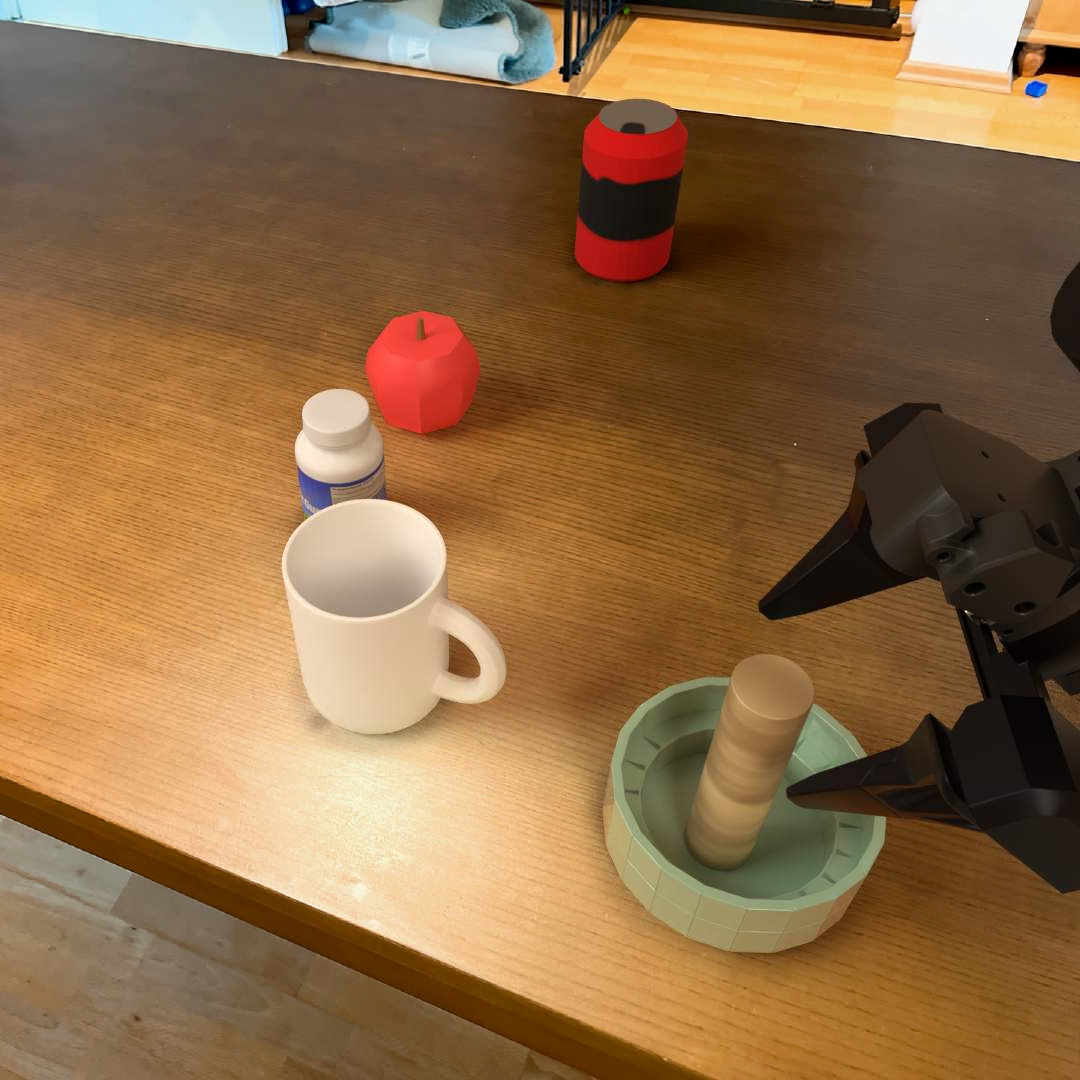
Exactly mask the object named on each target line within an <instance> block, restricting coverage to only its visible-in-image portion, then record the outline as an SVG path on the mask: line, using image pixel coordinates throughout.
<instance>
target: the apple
mask: <svg viewBox="0 0 1080 1080" xmlns="http://www.w3.org/2000/svg"><path fill="white" fill-rule="evenodd" d="M481 370H482V368H481V364H480V361H479V357H478V352H477V349H476V348H475V346H474V345H473V344H472V342H471V341H470V338H468V336H467V335H466V333H465V331H464V330H463V329H462V327H461V326H460V325H459V324H458V322H457V321H456V320H454V318H453V317H450V316H446V315H442V314H437V313H433V312H429V311H425V310H421V311H418V312H413V313H409V314H405V315H401V316H397V317H393V318H392V319H391V320H390V321H389V323H388V324H387V325H386V327H385V328H384V329H383V330H382V332H381V333H380V334H379V335H378V337H377V338H376V340H375V341H374V342H373V343H372V345H371V346H370V347H369V349H368V350H367V353H366V359H365V366H364V371H365V375H366V378H367V381H368V383H369V386H370V390H371V393H372V396H373V399H374V402H375V404H376V406H377V407H378V409H379V411H380V413H381V415H382V417H383V419H384V421H385V423H386V424H387V425H388V426H393V427H396V428H399V429H403V430H405V431H409V432H414V433H417V434H420V435H424V434H427V433H431V432H435V431H439V430H442V429H445V428H449V427H452V426H456V425H458V423H459V422H460V421H461V419H462V418H463V416H464V415H465V414H466V412H467V410H468V409H469V407H470V406H471V404H472V403H473V400H474V397H475V393H476V389H477V385H478V381H479V378H480V373H481Z"/></svg>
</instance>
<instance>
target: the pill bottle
mask: <svg viewBox="0 0 1080 1080" xmlns="http://www.w3.org/2000/svg"><path fill="white" fill-rule="evenodd" d="M370 408H371V407H370V404H369V402H368V400H367V399H366V398H365V397H364V396H363V395H362V394H360V393H359V392H357V391H354V390H351V389H345V388H330V389H327V390H324V391H320V392H318V393H316V394H314V395H313V396H311V397H309V399H307V401H306V402H305V403H304V405H303V407H302V411H301V417H302V429H301V430H300V432H299V433H298V435H297V437H296V439H295V444H294V456H295V465H296V472H297V478H298V479H297V480H298V485H299V492H300V499H301V500H300V501H301V506H302V513H303V519H304V521H305V520H307V519H308V518H309V517H310V516H312V515H314V514H315V513H317V512H319V511H321V510H323V509H325V508H327V507H329V506H332V505H335V504H338V503H342V502H345V501H351V500H358V499H380V500H387V498H388V497H387V485H386V483H387V482H386V467H385V465H386V463H385V449H384V448H385V446H384V439H383V436H382V434H381V432H380V430H379V428H378V427H377V426H376V425H375V424H374V423H373V422H372V416H371V409H370Z"/></svg>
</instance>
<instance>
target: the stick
mask: <svg viewBox="0 0 1080 1080" xmlns="http://www.w3.org/2000/svg"><path fill="white" fill-rule="evenodd" d="M730 677H731V679H730V682H729V685H728V689H727V692H726V695H725V699H724V702H723V705H722V708H721V712H720V715H719V718H718V722H717V725H716V728H715V732H714V735H713V738H712V741H711V745H710V748H709V751H708V755H707V758H706V761H705V764H704V768H703V771H702V774H701V778H700V781H699V784H698V788H697V791H696V794H695V797H694V801H693V804H692V807H691V811H690V814H689V817H688V820H687V824H686V827H685V831H684V839H685V843H686V846H687V848H688V850H689V852H690V853H691V855H692V856H693V857H694V858H695V859H696V860H697V861H698V862H699V863H701V864H702V865H704V866H706V867H708V868H710V869H713V870H718V871H731V870H735V869H737V868H740V867H741V866H743V865H744V864H745V863H746V862H747V861H748V860H749V858H750V856H751V854H752V851H753V849H754V846H755V844H756V841H757V839H758V837H759V834H760V832H761V829H762V827H763V824H764V822H765V820H766V817H767V815H768V812H769V810H770V807H771V805H772V803H773V800H774V798H775V795H776V793H777V790H778V788H779V786H780V783H781V781H782V778H783V776H784V773H785V771H786V769H787V766H788V764H789V761H790V759H791V756H792V754H793V752H794V749H795V747H796V744H797V742H798V739H799V737H800V735H801V732H802V730H803V727H804V725H805V722H806V720H807V718H808V715H809V713H810V710H811V708H812V705H813V703H814V702H815V699H816V688H815V685H814V682H813V680H812V678H811V676H810V675H809V674H808V673H807V671H806V670H805V669H804V668H803V667H802V666H800V665H799V664H798V663H797V662H795V661H793V660H791V659H790V658H787V657H784V656H783V655H778V654H772V653H758V654H754V655H753V654H752V655H751V656H748V657H745V658H744V659H742V660H741V661H739V662H738V664H736V666H734V668H733V670H732V673H731V675H730ZM814 704H815V703H814Z"/></svg>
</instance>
